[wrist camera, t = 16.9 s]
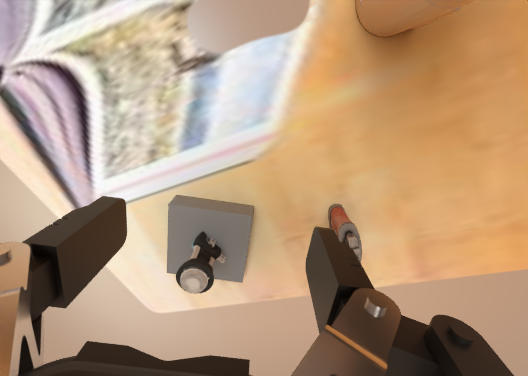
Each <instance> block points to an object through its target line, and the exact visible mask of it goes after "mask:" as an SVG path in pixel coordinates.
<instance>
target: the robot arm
mask: <svg viewBox="0 0 528 376" xmlns="http://www.w3.org/2000/svg"><path fill="white" fill-rule="evenodd" d="M473 1H475V0H356V10H357V15H358V18H359V20H360V22H361V24H362V25H363V27H364V28H365V29H366V30H367V31H369V32H370V33H372V34H374V35H376V36H382V37H385V36H392V35H395V34H398V33H400V32H403V31H405V30H407V29H411V30H413V29H415V28H418V27H420V26H423V25H425V24H428V23H430V22H433V21H435V20H437V19H440V18H442V17H445V16H447V15H450V14H452V13H455V12H457V11H458V10H459V9H460V8H461V6H464V5H466V4H468V3H471V2H473ZM126 236H127V220H126V203H125V200H124V199H121V198H114V197H107V196H102V197H100V198H99V199H97V200H96V201H94V202H93V203H91V204H90V205H88V206H85V207H82V208H79V209H76V210H73V211H71V212H70V213H68V214H66V215H65V216H63V217H62V219H59V220H57V221H56V222H54V223H53V225H52V224H51V225H49V226H47V227H46V228H44V229H43V230H41V231H39V232H38V233H36V234H35V235H33V236H31V237H30V238H28V239H27V240H25V241H23V242H22V243H21V242H4V243H0V376H252V375H249V361H250V360H246V359H237V358H228V357H220V356H211V355H210V356H203V357H195V358H188V359H180V360H173V361H164V360H160V359H158V358H156V357H153V356H151V355H149V354H146V353H144V352H141V351H139V350H137V349H134V348H132V347H129V346H125V345H116V344H108V343H99V342H90V341H87V342H86V343H85V345H84V346H83V348H82V349H81V350H80V352H79V353H78V355H77V356H72V357H68V358H63V359H59V360H56V361H53V362H50V363H47V364H44V365H43V356H44V355H43V354H44V316H43V311H45V310H46V308H48V307H49V306H51V307H59V308H66V307H67V306H68V305H69V304H70V303H71V302H72V301H73V300H74V299H75V298H76V296H77V295H78V294H79V293H80V292H81V291H82V290H83V289H84V288H85V287H86V286H87V284H88V283H89V282H90V281H91V280H92V279H93V278H94V277H95V276H96V275H97V274H98V272H99V271H100V270H101V269H102V268H103V267H104V266H105V265H106V264H107V263H108V262H109V260H110V259H111V258H112V257H113V256H114V255H115V254H116V253H117V252H118V251H119V250H120V248H121V247H122V246H123V244H124V242H125V240H126ZM306 274H307V279H308V283H309V288H310V293H311V297H312V302H313V306H314V311H315V315H316V320H317V324H318V328H319V334H320V335H319V336H318V337H317V339H316V340H315V342H314V343H313V345H312V346H311V348H310V349H309V350H308V352H307V353H306V355H305V356H304V358H303V359H302V361H301V362H300V364H299V365H298V366H297V368H296V369H295V371H294V372H293V374H292V375H291V376H514V375H513V374H512V373H511V372H510V370H509V369H508V368H507V367H506V365H505V364H504V363H503V362H502V360H501V359H500V358H499V357H498V355H497V354H496V353H495V352H494V351H493V350H492V348H491V347H490V346H489V345H488V343H487V342H486V341H485V340H484V339H483V337H482V336H481V335H480V334H479V333H478V332H476V331H475V330H474V329H473V328H471V327H470V326H468V325H467V324H465V323H464V322H462V321H460V320H458V319H455V318H453V317H450V316H446V315H436V316H434V317H433V318H432V320H431V322H430V324H429V325H426V324H424V323H421V322H418V321H416V320H413V319H410V318H407V317H405V316H402V315H401V312H400V309H399V308H398V306H397V305H396V304H395V302H394V301H393V300H391V299H390V298H389V297H388V296H386V295H385V294H383V293H381V292H379V291H376V290H375V289H374V287H373V285H372V284H371V282H370V280H369V278H368V276H367V274H366V272H365V271H364V269H363V267H362V265H361V263H360V261H359V260H358V258H357V256H356V254H355V252H354V250H353V249H352V248H350V247H349V246H348V245H347V244H346V243H345V242H340V241H339V239H338V237H337V235H336V233H335V231H334V229H329V228H322V227H315V228H314V231H313V234H312V238H311V242H310V246H309V250H308V254H307V258H306Z"/></svg>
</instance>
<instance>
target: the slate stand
mask: <svg viewBox="0 0 528 376" xmlns="http://www.w3.org/2000/svg"><path fill="white" fill-rule="evenodd" d="M253 210H254V206H250V205H243V204H237V203H230V202H223V201H216V200H209V199H202V198H195V197H188V196H181V195H176V196H175V197H174V198H173V200H172V201H171V202H170V203H169V211H168V250H167V273H173V274H176V273H177V271H178V269H179V268H180V266H182V265H183V263H185V262H186V261H188V260H190V258H191V255H192V253H193V251H194V250H193V248H192V247H191V245H192V243H193V241H194V239H195V238H196V237H197V236H198V235H199V234H200V233H201V232H205V233H206V235H207V236H206V237H208V238H209V239H211V238H213V239H214V240H216V243H215V244H216V245H217V246H218V247H220V248H221V253H222V254H223V255H224V256H225V257H226V258H225V259H224V260H225V262H224V263H221V262H220V261H219V260H215V261H214V262H213V263H212V268H213V275H214V279H219V280H227V281H234V282H242V283H243V276H244V270H245V263H246V257H247V251H248V244H249V238H250V231H251V225H252V219H253ZM214 240H212V241H213V242H214ZM222 258H224V257H223V256H222ZM221 261H223V260H221ZM184 271H185V269H184V270H183V272H184ZM208 278H209V277H208Z"/></svg>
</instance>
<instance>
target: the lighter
mask: <svg viewBox="0 0 528 376" xmlns="http://www.w3.org/2000/svg"><path fill="white" fill-rule="evenodd" d="M328 218H329V226H330V229H334V231H335V233H336V235H337V237H338V239H339V241H340V242H345V243H346V244H347V245H348V246H349V247H350V248H352V249H353V250H354V252H355V254H356V256H357V258H358V260H359V261H360V263H361V257H362V247H361V240H360V236H359V233H358V231H357V228H356V226H355V225H354V224H353V223H352V222H351V221H350V220H349V218H348V216H347V215H346V212H345V210H344V208H343V207H342V205H340V204H333V205H332V206H330V208H329V215H328Z"/></svg>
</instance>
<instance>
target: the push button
mask: <svg viewBox="0 0 528 376" xmlns="http://www.w3.org/2000/svg"><path fill="white" fill-rule="evenodd" d="M206 236H207V235H206V233H205V232H201V233H200V234H199V235H198V236H197V237H196V238H195V239H194V241H193V243H192V245H191V247H192V248H193V250H194V251H193V253H192V255H191V258H190V260H188V261H186V262H185V263H183V265H182V266H180V268H179V269H178V271H177V273H176V280H177V283H178V284H179V286H180V287H181V288H182V289H184V290H185V291H187V292H189V293H194V294H196V293H203V292H205V291H207V290H209V289H210V288H211V286H212V285H213V282H214V275H213V268H212V263H213V262H214V261H215V260H219V261H220V262H221V263H224V262H225V260H224V259H225V258H226V257H225V256H224V255H223V254H222V253H221V248H220V247H218V246H217V245H216V244H215V243H216V240H214V239H213V238H211V239H209V238H208V237H206ZM212 240H214V242H213V241H212ZM222 256H223V257H224V258H222ZM221 260H223V261H221ZM184 269H185V271H184V272H183V270H184ZM208 277H209V279H208Z"/></svg>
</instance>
